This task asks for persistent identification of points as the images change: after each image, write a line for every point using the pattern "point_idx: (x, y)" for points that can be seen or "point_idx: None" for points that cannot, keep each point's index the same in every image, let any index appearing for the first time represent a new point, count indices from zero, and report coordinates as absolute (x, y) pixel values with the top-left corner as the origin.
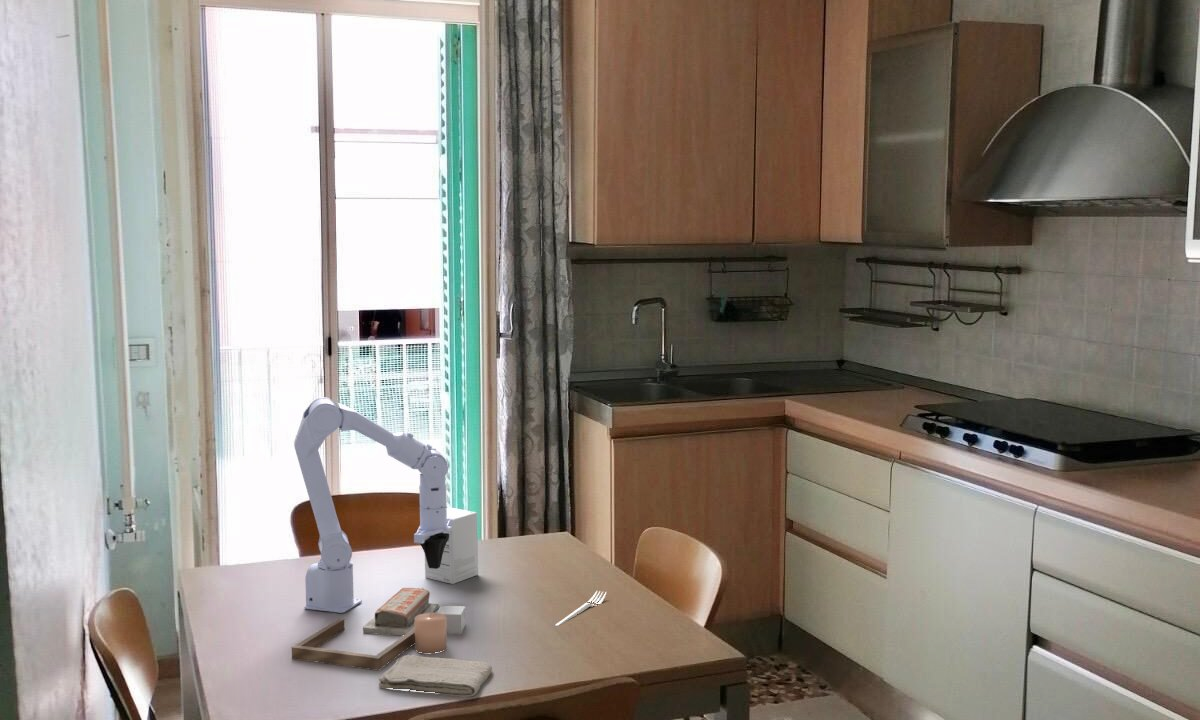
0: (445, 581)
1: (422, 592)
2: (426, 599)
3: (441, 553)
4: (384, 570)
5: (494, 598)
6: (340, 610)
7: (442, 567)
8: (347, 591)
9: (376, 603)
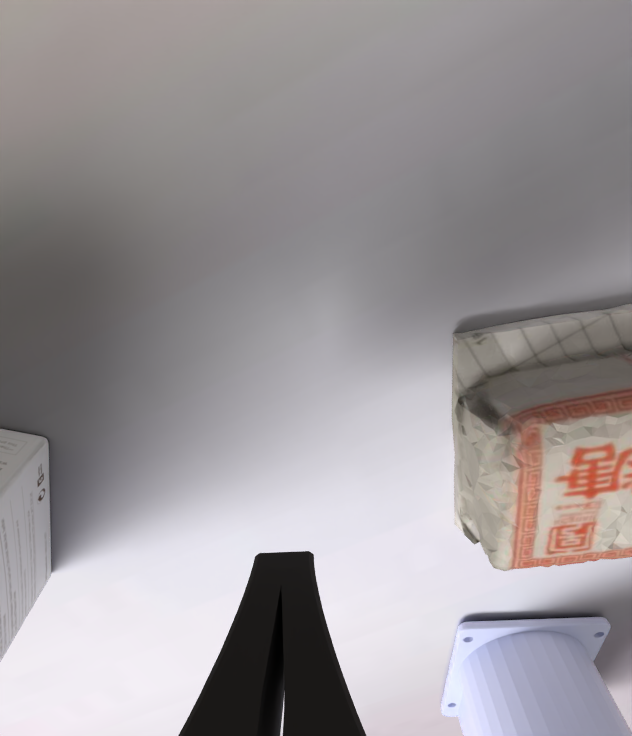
0: (47, 482)
1: (599, 446)
2: (610, 387)
3: (254, 692)
4: (77, 698)
5: (130, 7)
6: (603, 632)
7: (1, 562)
8: (593, 705)
9: (457, 579)
